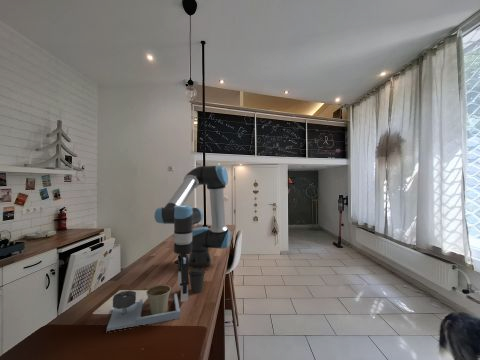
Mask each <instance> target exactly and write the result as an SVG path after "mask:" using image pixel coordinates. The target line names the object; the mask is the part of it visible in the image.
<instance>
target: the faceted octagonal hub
mask: <svg viewBox="0 0 480 360" xmlns="http://www.w3.org/2000/svg"><path fill="white" fill-rule="evenodd" d="M123 296H127V297H123ZM112 298H113V299H112V307H113V309H114V308H117V309H122V308H128V307H130V306H131V305H133V304H135V302H137V301H136V300H137V299H136V298H137V292H136V291H134V290H125V291H120V292H118V293H115V294H114V295H113V297H112Z"/></svg>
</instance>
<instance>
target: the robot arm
mask: <svg viewBox="0 0 480 360" xmlns="http://www.w3.org/2000/svg"><path fill="white" fill-rule="evenodd" d="M228 183H229V174H228V171H227V169H226V167H224V165H223V166H221V165H200V166H197V167H195V168H193V169H191V170H190V171H188V172H187V173H186V175H185V176H184V178H183V181H182V183H181V184H180V185H179V187H178V188H177V190H176V191H175V193H174V194H173V195H172V197H171V198H170V199H169V201H168V202H167V203H166V205H165V206H164V207H163V206H162V207H157V208H156V209H155V212H154V220H155V222H156V223H158V224H163V225H164V224H165V225H166V224H170V225H174V226H173V232H174V233H173V235H172V238H174V239H173V242H174V243H173V253H174V254H178V255H177V287H178V288H179V287H180V302H182V303H183V302H188V301H189V284H190V282H189V281H190V277H189V274H188V273H189V266H190V267H194V268H200V267H206V266H209V265H211V263H212V259H211V255H210V252H209V249H221V250H224V249H225V250H226V249H228V248H229V246H230V243H231V238H232V232H231V231H232V230H229V227H228V226H227V225H226V217H225V216H226V214H225V198H224V197H225V196H224V189H226V185H228ZM202 185H204V186H205V185H206V189H207V190H208V191H209V200H210V201H209V203H210V216H211V226H210V228H209V227H208V226H202V227H195V228H193V225H197V224H199V223H200V222H201V221H203V219H204V212H203V210H202V209H201V208H199V207H192V206H191V205H185V204H186V202H187V201H188V199H190V196H191V195H192V193H193V192H194V190H195V189H197V188H198V187H199V186H202ZM188 254H189V256H188Z"/></svg>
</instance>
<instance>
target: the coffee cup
mask: <svg viewBox="0 0 480 360" xmlns="http://www.w3.org/2000/svg"><path fill="white" fill-rule="evenodd" d="M205 274H206V271H205V269H203V268H194V269H191V270H188V276H189V281H190V282H189V284H190V292H191V293H192V294H200V293H202V292H203V288H204V279H205Z"/></svg>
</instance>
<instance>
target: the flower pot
mask: <svg viewBox="0 0 480 360" xmlns="http://www.w3.org/2000/svg"><path fill="white" fill-rule="evenodd" d="M171 291H172V287H170V285H168V284H167V285H166V284H159V285H158V284H157V285H154V286H151V287H150V288H148V289H147V290H146V295H147V298H148V303H149V304H148V305H149V310H150V314H151V315H155V314H161V313H166V312H168V303H169V295H170V292H171Z"/></svg>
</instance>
